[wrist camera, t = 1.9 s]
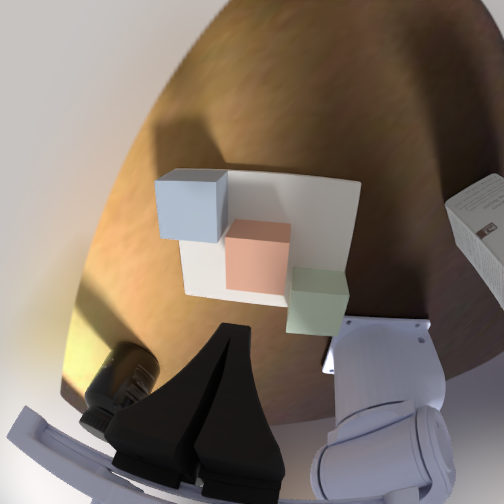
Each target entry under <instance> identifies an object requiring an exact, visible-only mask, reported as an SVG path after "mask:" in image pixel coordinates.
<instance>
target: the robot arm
mask: <svg viewBox="0 0 504 504" xmlns="http://www.w3.org/2000/svg"><path fill="white" fill-rule="evenodd" d="M347 321H350V322H347ZM416 324H417V325H416ZM429 327H430V321H429V320H427V319H397V318H376V317H359V316H345V315H344V317H343V320H342V324H341V327H340V330H339V333H338V336H337V337H336V336H333V337H332V340H331V343H330V346H329V349H328V352H327V356H326V359H325V362H324V364H323V367H322V371H323V372H324V373H333V374H334V382H335V413H336V429H335V430H333V431H331V432H329V433H328V442H327V443H328V444H326V445H324V446H322V447H321V448H320V449H319V450H318V451H317V452H316V454H315V456H314V458H313V462H312V465H311V471H310V481H311V487H312V490H313V492H314V494H315V496H316V497H317V499H318V500H294V499H279V491H280V489H281V482H282V480H283V478H284V476H285V467H284V462H283V459H282V455H281V452H280V448H279V446H278V444H277V442H276V440H275V439H274V436H273V434H272V432H271V430H270V427H269V425H268V423H267V420H266V418H265V415H264V412H263V410H262V407H261V404H260V401H259V398H258V394H257V390H256V387H255V382H254V378H253V373H252V367H251V360H250V347H251V328H250V327H249V326H245V325H237V324H230V323H221V324H220V325H219V327H218V328H217V330H216V331H215V333H214V334H213V335H212V337H211V338H210V339H209V341H208V342H207V343H206V344H205V346H204V347H203V348H202V349H201V350H200V351H199V353H198V354H197V355H196V356H195V357H194V358H193V359H192V360H191V361H190V362H189V363H188V364H187V365H186V366H185V367H184V368H183V369H182V370H181V371H180V372H179V373H178V374H177V375H175V376H174V377H173V378H172V379H171V380H169V381H168V382H167V383H165V384H164V385H163V386H161V387H160V388H159V389H157V390H156V391H154V392H153V393H151V394H150V395H148V396H146V397H145V398H143V399H141V400H140V401H138V402H136V403H134V404H132V405H130V406H128V407H126V408H124V409H122V410H120V411H118V412H116V414H115V415H114V417H113V418H112V420H111V421H110V423H109V425H108V427H107V429H106V431H105V433H104V438H105V439H106V441H107V442H108V443H109V444H110V445H111V446H112V447H113V448H114V449H115V450H116V451H117V452H116V454H115V456H114V458H112V457H110V456H108V455H106V454H104V453H101V452H99V451H97V450H95V449H93V448H91V447H89V446H87V445H85V444H83V443H81V442H79V441H78V440H76V439H74V438H72V437H70V436H68V435H67V434H65V433H63V432H61V431H60V430H58V429H56V428H55V427H53V426H51V425H50V424H48V423H47V421H46V420H45V419H44V418H43V417H41V416H40V415H39V414H38V413H36V412H35V411H33V410H32V409H30V408H29V407H27V406H24V408H23V410H22V411H21V413H20V414H19V416H18V418H17V419H16V421H15V423H14V424H13V426H12V428H11V429H10V431H9V433H8V435H7V439H9V440H10V441H11V442H12V443H14V444H15V445H16V446H17V447H18V448H19V449H20V450H22V451H23V452H24V453H25V454H27V455H28V456H29V457H30V458H32V459H33V460H34V461H36V462H37V463H38V464H40V465H41V466H42V467H44V468H45V469H47V470H48V471H49V472H51V473H52V474H54V475H55V476H57V477H58V478H60V479H61V480H63V481H64V482H66V483H67V484H69V485H71V486H72V487H74V488H76V489H77V490H79V491H81V492H82V493H84V494H86V495H88V496H90V497H91V498H93V499H92V502H91V504H176V503H173V502H170V501H166V500H163V499H160V498H157V497H154V496H151V495H148V494H145V493H144V491H143V490H141V489H140V488H138V487H136V486H134V485H133V484H131V483H130V482H129V481H128V480H125V479H123V478H121V477H119V476H117V475H115V474H113V473H112V472H114V473H116V474H119V475H121V476H123V477H126V478H128V479H131V480H133V481H136V482H138V483H141V484H144V485H146V486H149V487H152V488H155V489H158V490H161V491H165V492H168V493H171V494H174V495H177V496H181V497H185V498H188V499H192V500H196V501H200V502H205V503H209V504H444V503H445V502H446V501H447V499H448V498H449V497H450V495H451V493H452V490H453V487H454V484H455V479H456V470H455V466H454V461H453V452H452V445H451V440H450V436H449V433H448V430H447V427H446V424H445V422H444V420H443V417H442V415H441V414H440V412H439V410H440V408H441V406H442V404H443V401H444V397H445V377H444V373H443V370H442V367H441V364H440V361H439V358H438V356H437V353H436V350H435V348H434V345H433V342H432V340H431V337H430V335H429V332H428V329H429ZM111 471H112V472H111ZM203 483H204V485H203ZM200 485H203V487H200Z"/></svg>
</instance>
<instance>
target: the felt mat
mask: <svg viewBox="0 0 504 504" xmlns="http://www.w3.org/2000/svg"><path fill="white" fill-rule="evenodd" d="M174 170H221V171H228V226H227V227H226V229H225V231H224V233H223V235H222V236H221V238H220V240H219V242H218V243H217V244H216V243H206V242H196V241H185V240H179V245H180V255H181V263H182V272H183V280H184V288H185V294H187V295H194V296H201V297H208V298H215V299H222V300H230V301H238V302H246V303H254V304H263V305H272V306H281V307H288V304H289V297H290V290H291V282H292V274H293V267H299V268H309V269H319V270H329V271H340V272H345V268H346V263H347V259H348V254H349V250H350V245H351V240H352V235H353V230H354V224H355V219H356V214H357V208H358V202H359V196H360V189H361V182H359V181H352V180H344V179H336V178H328V177H319V176H310V175H300V174H289V173H278V172H264V171H248V170H228V169H195V168H175V169H174ZM235 219H243V220H254V221H266V222H277V223H287V224H291V232H290V245H289V254H288V264H287V273H286V282H285V290H284V296H282V295H273V294H264V293H255V292H246V291H238V290H230V289H226V265H225V236H226V234H227V232H228V231H229V229H230V227H231V225H232V223H233V221H234V220H235Z"/></svg>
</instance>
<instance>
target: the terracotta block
mask: <svg viewBox="0 0 504 504" xmlns="http://www.w3.org/2000/svg"><path fill="white" fill-rule="evenodd" d="M290 232H291V224H287V223H277V222H266V221H254V220H243V219H235V220H234V221H233V223H232V225H231V227H230V229H229V231H228V232H227V234H226V236H225V265H226V289H230V290H238V291H246V292H255V293H264V294H273V295H282V296H284V290H285V282H286V273H287V264H288V254H289V245H290Z"/></svg>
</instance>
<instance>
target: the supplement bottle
mask: <svg viewBox="0 0 504 504" xmlns="http://www.w3.org/2000/svg"><path fill="white" fill-rule="evenodd" d="M159 374H160V367H159V364H158V362H157V361H156V359H155V358H154V357H153V356H152V355H151V354H150V353H149V352H147V351H146V350H144V349H143V348H141V347H139V346H137V345H135V344H132V343H128V342H121V343H118V344H116V345H115V346H114V347H113V349H112V350H111V352H110V353H109V355H108V356H107V358H106V359H105V361H104V363H103V364H102V366H101V367H100V369H99V371H98V372H97V374H96V375H95V377H94V379H93V380H92V382H91V384H90V385H89V387H88V388H87V390H86V392H85V401H86V404H87V406H88V407H89V408H88V409H85V410H84V412H83V415H82V417H81V419H80V421H79V423H80V424H81V426H82V427H83V428H85V429H86V430H87V431H88V432H90V433H91V434H93V435H94V436H96V437H97V438H99V439H101V440H103V441H105V442H107V441H106V439H105V438H104V433H105V431H106V429H107V427H108V425H109V423H110V421H111V420H112V418H113V417H114V415H115V414H116V412H118V411H120V410H122V409H124V408H126V407H128V406H130V405H132V404H134V403H136V402H138V401H140V400H141V399H143V398H145V397H146V396H148V395H150V394H151V392H152V389H153V387H154V385H155V383H156V381H157V379H158V376H159ZM107 443H108V442H107Z"/></svg>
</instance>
